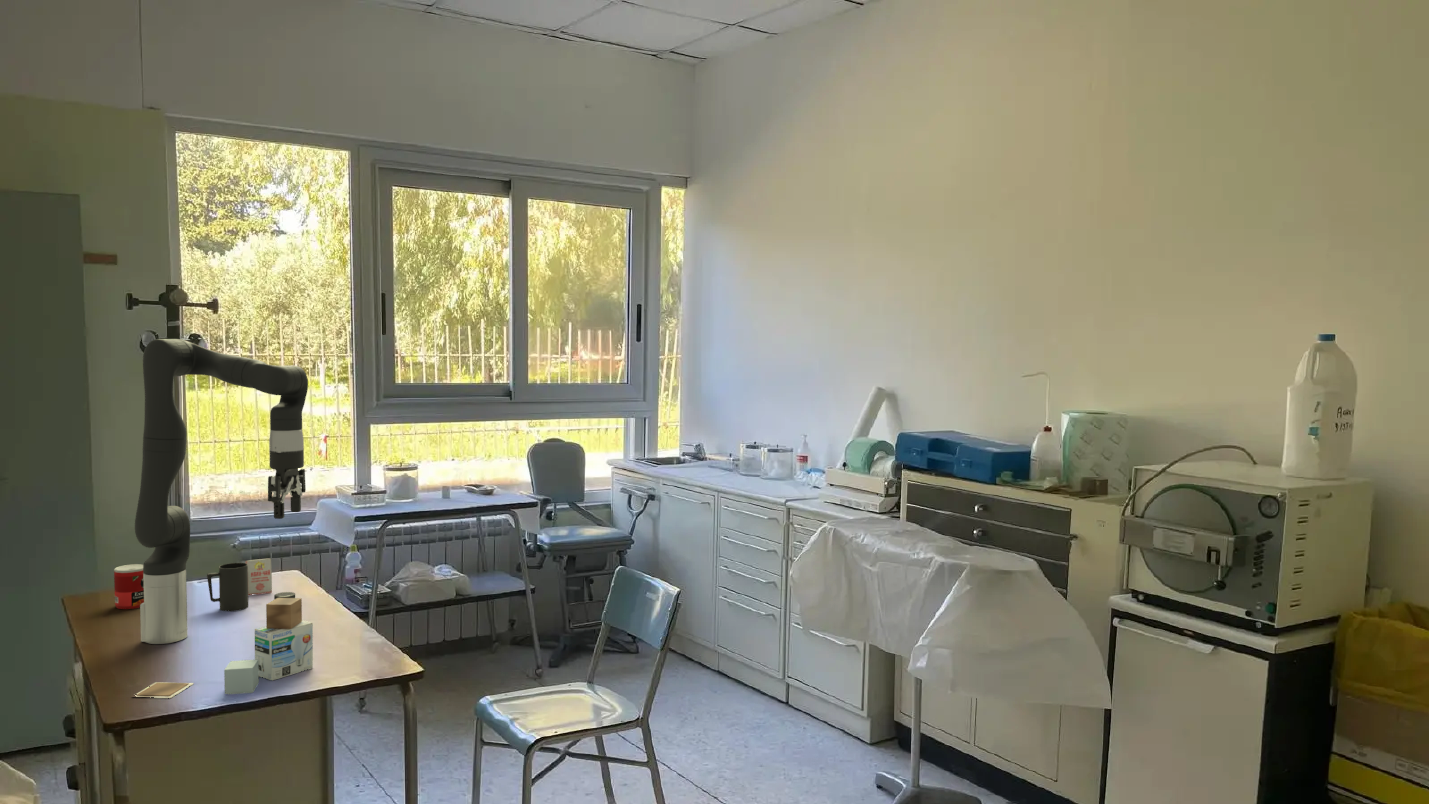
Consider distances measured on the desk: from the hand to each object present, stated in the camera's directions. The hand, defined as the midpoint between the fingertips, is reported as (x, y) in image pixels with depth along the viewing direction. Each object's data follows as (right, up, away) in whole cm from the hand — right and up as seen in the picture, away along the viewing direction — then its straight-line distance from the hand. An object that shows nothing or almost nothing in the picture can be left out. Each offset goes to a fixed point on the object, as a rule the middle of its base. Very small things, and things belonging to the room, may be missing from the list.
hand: (287, 515), depth 226 cm
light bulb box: (+5, -34, -13) cm, 37 cm away
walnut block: (+5, -23, -14) cm, 28 cm away
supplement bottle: (-4, -33, +8) cm, 34 cm away
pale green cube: (+1, -35, -24) cm, 42 cm away
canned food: (-61, -30, +37) cm, 77 cm away
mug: (-33, -31, +36) cm, 57 cm away
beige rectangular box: (-33, -30, +52) cm, 69 cm away
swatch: (-15, -35, -26) cm, 46 cm away
